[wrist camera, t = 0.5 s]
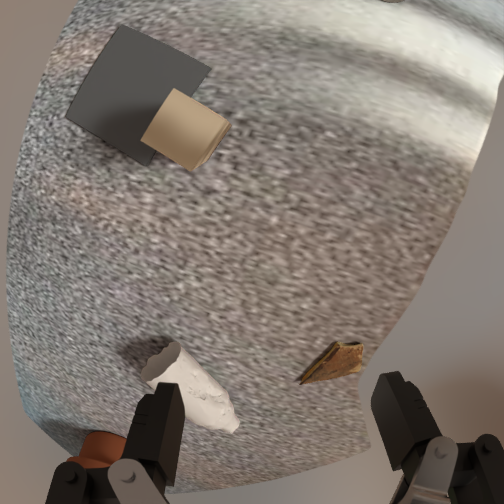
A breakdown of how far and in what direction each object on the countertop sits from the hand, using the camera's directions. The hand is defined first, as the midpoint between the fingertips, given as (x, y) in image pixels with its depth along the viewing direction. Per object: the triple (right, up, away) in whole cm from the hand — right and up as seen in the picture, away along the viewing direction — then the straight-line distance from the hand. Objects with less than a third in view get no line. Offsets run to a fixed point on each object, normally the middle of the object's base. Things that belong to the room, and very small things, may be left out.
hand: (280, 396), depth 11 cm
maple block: (-7, +20, +22) cm, 30 cm away
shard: (+13, -13, +37) cm, 41 cm away
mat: (-16, +25, +20) cm, 35 cm away
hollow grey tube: (-10, -15, +36) cm, 40 cm away
